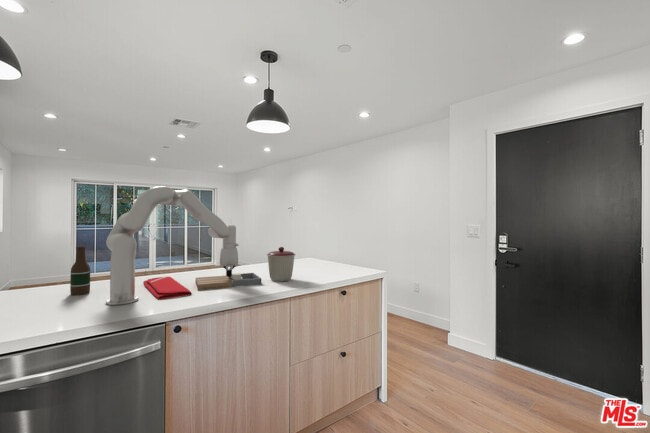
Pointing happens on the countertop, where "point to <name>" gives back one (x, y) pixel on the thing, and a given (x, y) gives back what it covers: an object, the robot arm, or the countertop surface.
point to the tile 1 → (236, 276)
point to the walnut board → (213, 282)
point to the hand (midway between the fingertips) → (228, 276)
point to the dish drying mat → (166, 288)
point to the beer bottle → (80, 274)
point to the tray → (246, 280)
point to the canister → (280, 265)
